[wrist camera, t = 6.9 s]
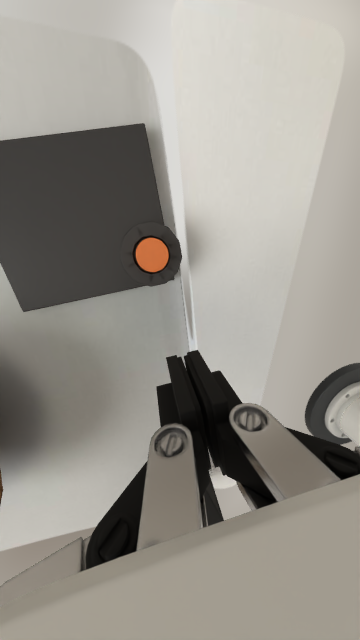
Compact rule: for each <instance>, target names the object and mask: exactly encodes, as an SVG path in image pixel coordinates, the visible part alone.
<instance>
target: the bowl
mask: <svg viewBox="0 0 360 640" xmlns="http://www.w3.org/2000/svg"><path fill="white" fill-rule="evenodd" d="M2 492H3V486H2V478H1V470H0V504H1V498H2Z"/></svg>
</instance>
